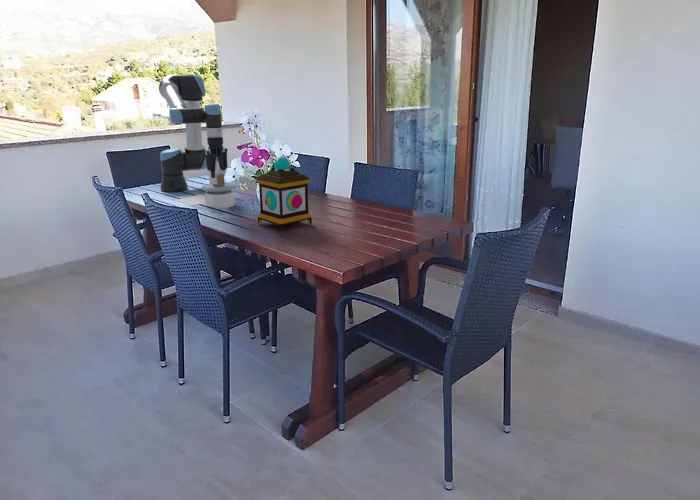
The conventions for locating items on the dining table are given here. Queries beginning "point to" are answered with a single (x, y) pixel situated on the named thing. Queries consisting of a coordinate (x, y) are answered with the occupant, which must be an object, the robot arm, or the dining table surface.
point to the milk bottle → (215, 170)
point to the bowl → (219, 199)
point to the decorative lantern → (283, 195)
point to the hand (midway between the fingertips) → (218, 183)
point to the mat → (193, 199)
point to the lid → (219, 185)
